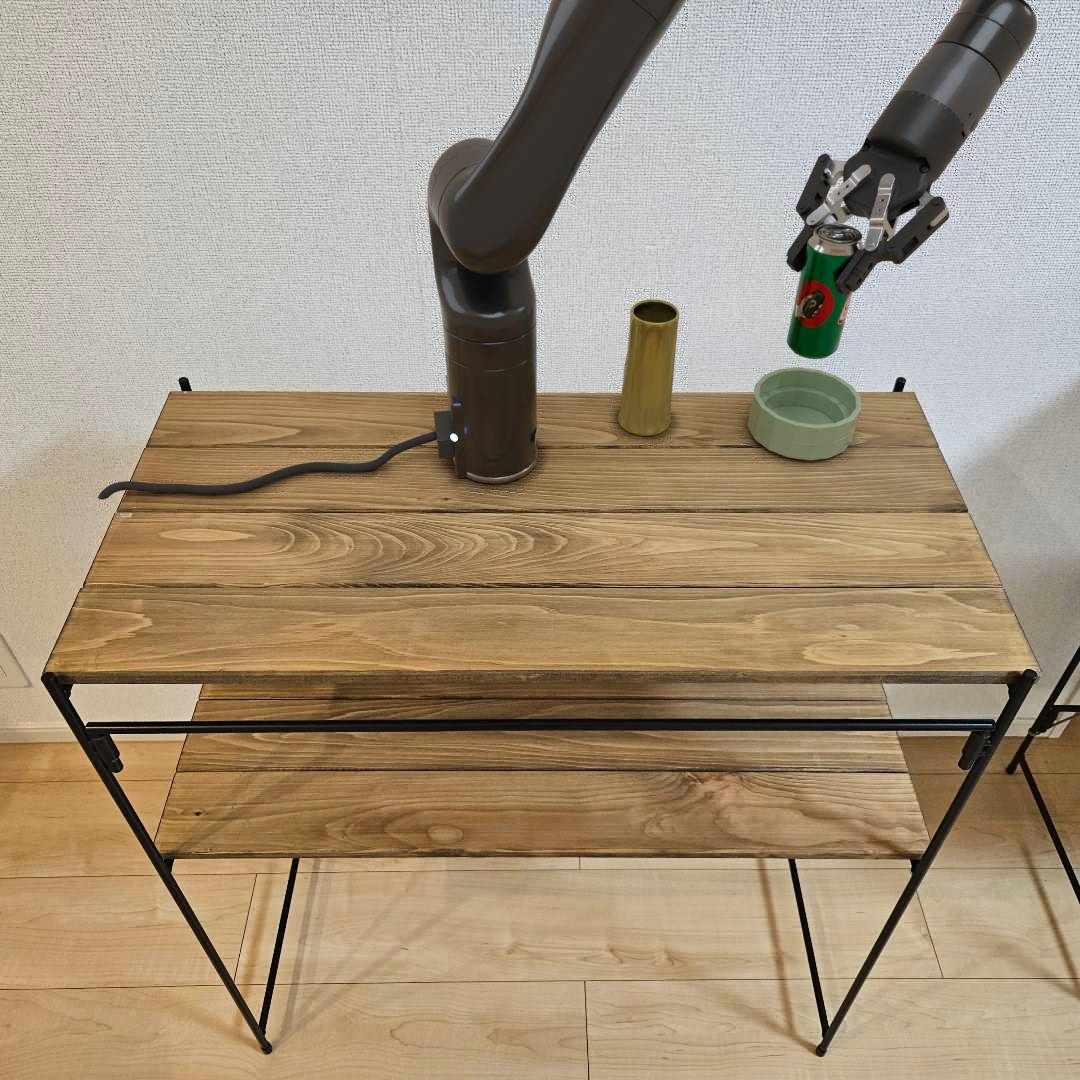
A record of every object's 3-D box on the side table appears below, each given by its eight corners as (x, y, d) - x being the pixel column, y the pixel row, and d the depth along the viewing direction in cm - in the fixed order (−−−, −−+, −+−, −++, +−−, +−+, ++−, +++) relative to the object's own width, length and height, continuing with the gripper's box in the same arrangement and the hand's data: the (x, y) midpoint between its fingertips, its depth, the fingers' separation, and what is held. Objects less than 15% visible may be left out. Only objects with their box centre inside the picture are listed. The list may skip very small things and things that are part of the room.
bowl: (767, 469, 97) (776, 432, 94) (733, 408, 106) (740, 372, 102) (867, 458, 99) (879, 421, 95) (826, 399, 107) (835, 363, 103)
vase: (655, 401, 106) (667, 292, 97) (679, 430, 102) (694, 319, 92) (609, 412, 105) (616, 302, 95) (631, 441, 101) (641, 330, 91)
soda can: (842, 362, 87) (872, 245, 79) (790, 361, 87) (815, 245, 79) (831, 334, 91) (859, 221, 82) (781, 334, 91) (804, 221, 83)
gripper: (854, 69, 81) (743, 233, 84) (997, 111, 72) (867, 291, 75) (876, 117, 86) (771, 268, 90) (1011, 162, 78) (890, 326, 81)
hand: (816, 278), depth 83 cm, fingers closed on soda can, 5 cm apart
